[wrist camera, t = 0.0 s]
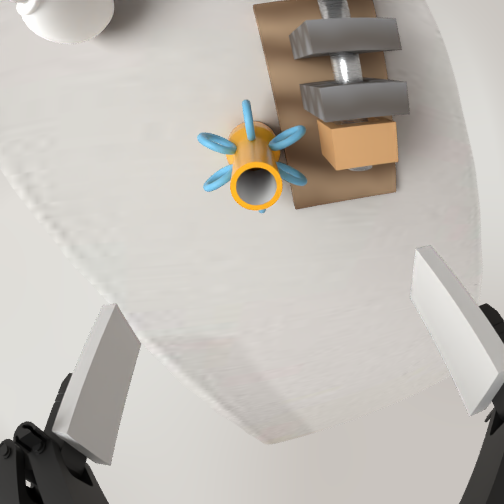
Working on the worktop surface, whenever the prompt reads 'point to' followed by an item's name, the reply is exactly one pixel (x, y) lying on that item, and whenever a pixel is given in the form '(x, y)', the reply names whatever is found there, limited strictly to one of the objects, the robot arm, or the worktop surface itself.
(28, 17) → the sauce bottle
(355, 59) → the shaft
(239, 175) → the cylinder
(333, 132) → the block
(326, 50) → the jig
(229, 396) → the worktop surface
